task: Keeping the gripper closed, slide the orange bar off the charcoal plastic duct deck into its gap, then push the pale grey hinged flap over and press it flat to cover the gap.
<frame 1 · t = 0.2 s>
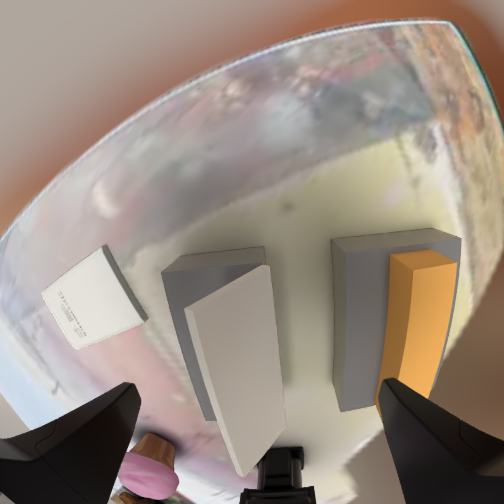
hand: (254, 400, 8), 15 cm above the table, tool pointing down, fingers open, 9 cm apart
decorative turtle: (150, 499, 39), on the table
duct: (317, 323, 23), on the table
orange bar: (403, 337, 18), point 4 cm above the table, touching duct
external hard drive: (92, 300, 25), on the table
cupcake: (159, 441, 30), on the table
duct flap: (251, 390, 16), point 8 cm above the table, hinge at 120.0°
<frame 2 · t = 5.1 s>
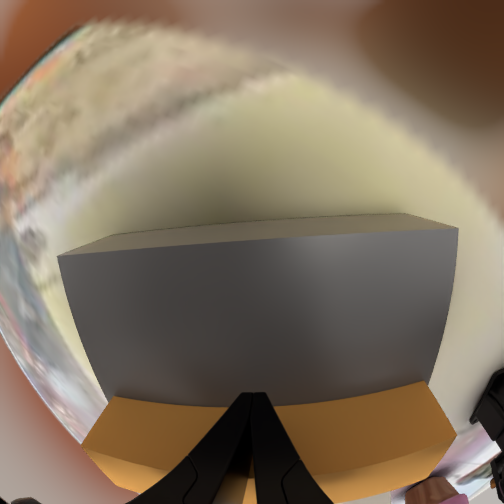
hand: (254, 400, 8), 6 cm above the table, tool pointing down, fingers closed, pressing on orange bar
duct: (268, 407, 15), on the table
orange bar: (266, 431, 10), point 5 cm above the table, touching duct, gripper
cupcake: (424, 482, 19), on the table
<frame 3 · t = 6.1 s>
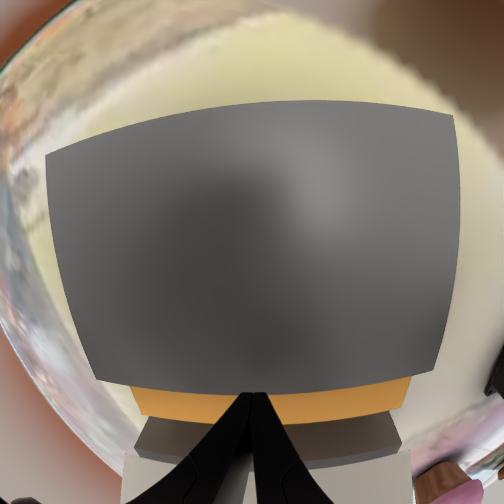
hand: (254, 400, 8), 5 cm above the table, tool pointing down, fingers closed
duct: (263, 359, 14), on the table
orange bar: (267, 352, 12), point 1 cm above the table, tilted 90°
cupcake: (434, 468, 18), on the table
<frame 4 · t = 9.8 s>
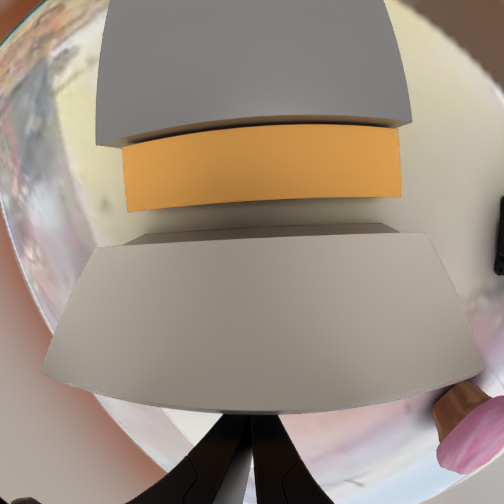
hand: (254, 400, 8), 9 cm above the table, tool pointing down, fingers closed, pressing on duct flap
duct: (255, 159, 15), on the table
orange bar: (258, 132, 13), point 1 cm above the table, tilted 90°
external hard drive: (228, 426, 22), on the table
cupcake: (452, 394, 19), on the table
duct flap: (251, 313, 9), point 8 cm above the table, hinge at 118.8°, touching gripper
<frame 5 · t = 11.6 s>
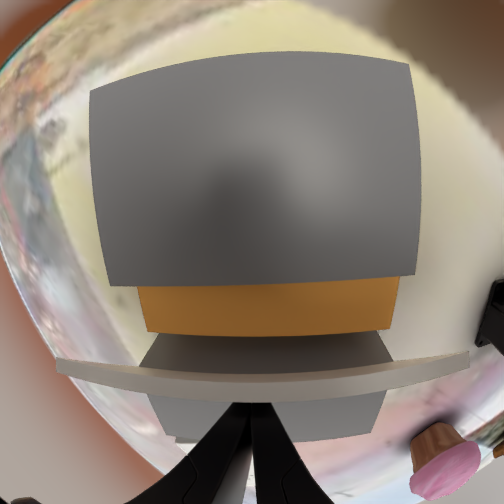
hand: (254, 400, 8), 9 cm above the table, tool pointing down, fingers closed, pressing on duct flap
duct: (262, 277, 16), on the table
orange bar: (267, 264, 15), point 1 cm above the table, tilted 90°
external hard drive: (235, 457, 24), on the table
cupcake: (429, 430, 21), on the table
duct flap: (258, 384, 10), point 7 cm above the table, hinge at 49.6°, touching gripper
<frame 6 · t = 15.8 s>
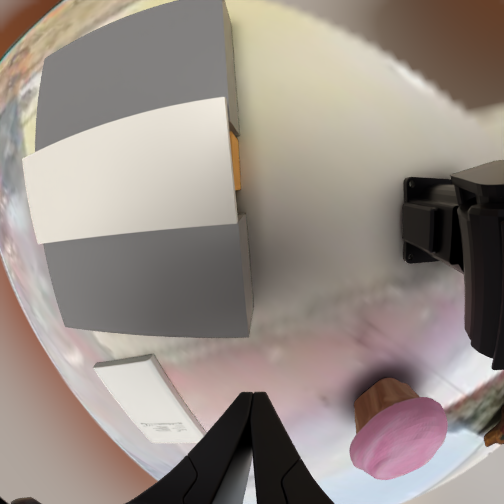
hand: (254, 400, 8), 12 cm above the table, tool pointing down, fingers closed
duct: (142, 170, 18), on the table
orange bar: (136, 150, 17), point 1 cm above the table, tilted 90°
external hard drive: (154, 399, 25), on the table
cupcake: (380, 391, 22), on the table
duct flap: (104, 180, 14), point 5 cm above the table, hinge at 7.4°
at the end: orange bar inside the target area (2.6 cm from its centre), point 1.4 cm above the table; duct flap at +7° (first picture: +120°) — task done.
